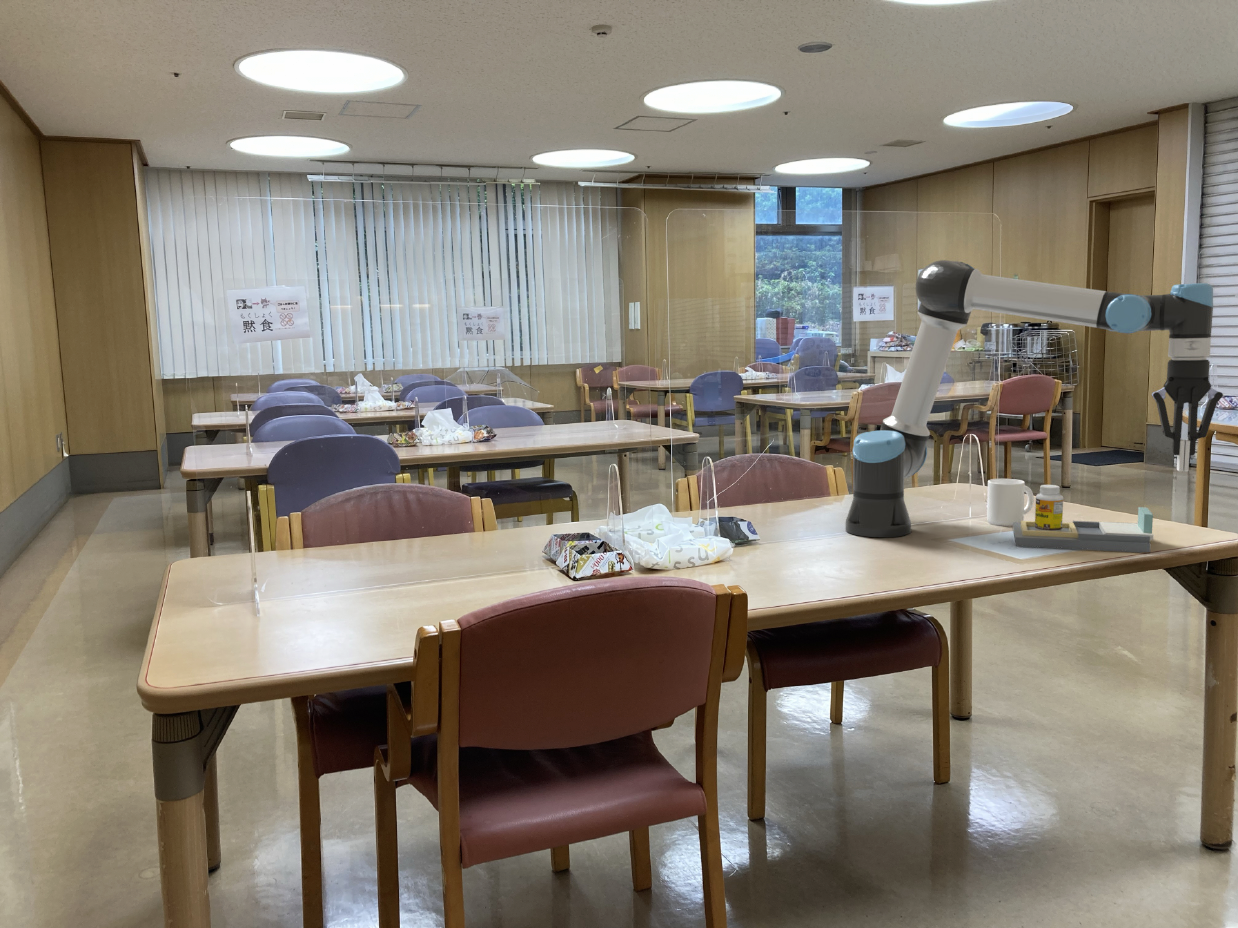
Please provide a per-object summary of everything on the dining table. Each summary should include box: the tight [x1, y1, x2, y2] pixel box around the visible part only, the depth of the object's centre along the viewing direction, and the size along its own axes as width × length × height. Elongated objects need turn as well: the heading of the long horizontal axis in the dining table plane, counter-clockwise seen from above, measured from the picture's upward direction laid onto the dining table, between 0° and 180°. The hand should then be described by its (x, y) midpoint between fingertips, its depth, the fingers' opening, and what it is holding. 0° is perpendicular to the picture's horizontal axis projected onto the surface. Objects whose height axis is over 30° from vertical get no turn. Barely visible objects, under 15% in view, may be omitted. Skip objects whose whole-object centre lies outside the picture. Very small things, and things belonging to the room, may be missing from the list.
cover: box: [1098, 506, 1154, 541], centre depth 206 cm, size 9×11×5 cm
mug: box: [986, 478, 1035, 527], centre depth 230 cm, size 12×8×10 cm
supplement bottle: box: [1034, 484, 1064, 531], centre depth 211 cm, size 6×6×10 cm
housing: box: [1012, 520, 1151, 553], centre depth 209 cm, size 26×16×3 cm, turn 69°
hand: (1182, 470), depth 200 cm, fingers closed
